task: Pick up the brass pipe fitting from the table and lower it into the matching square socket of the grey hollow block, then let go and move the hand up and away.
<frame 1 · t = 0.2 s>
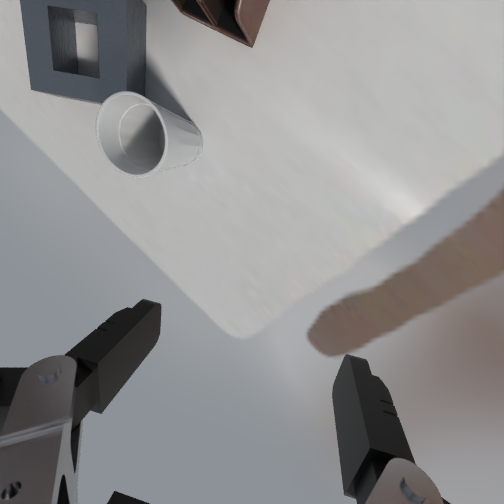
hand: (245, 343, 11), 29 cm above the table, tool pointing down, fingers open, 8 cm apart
grey hollow block: (98, 54, 35), on the table
cup: (183, 142, 37), on the table
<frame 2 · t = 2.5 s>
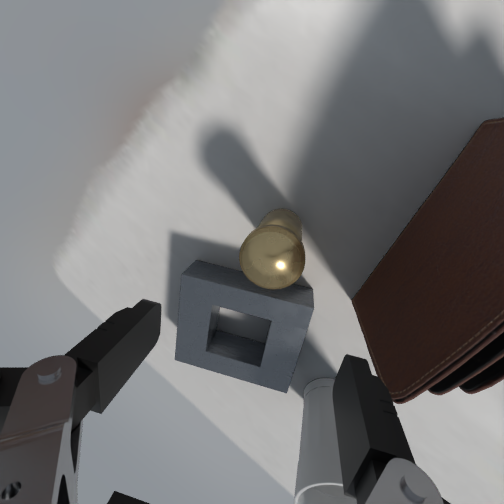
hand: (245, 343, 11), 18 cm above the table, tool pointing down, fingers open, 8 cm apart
grey hollow block: (244, 316, 32), on the table
cup: (327, 395, 34), on the table
letter holder: (451, 245, 25), on the table
fitting: (281, 229, 27), on the table
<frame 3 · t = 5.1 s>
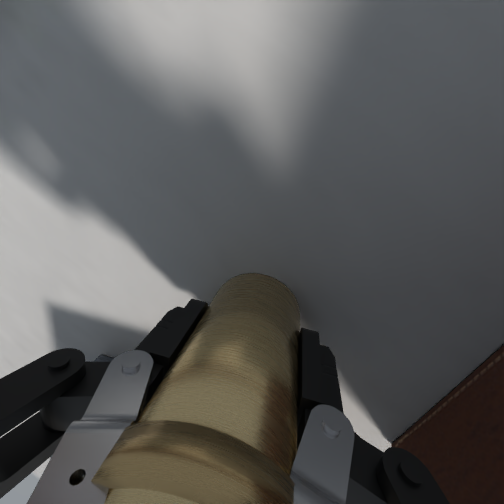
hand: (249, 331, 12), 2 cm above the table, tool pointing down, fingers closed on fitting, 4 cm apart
fitting: (255, 312, 13), on the table, touching gripper
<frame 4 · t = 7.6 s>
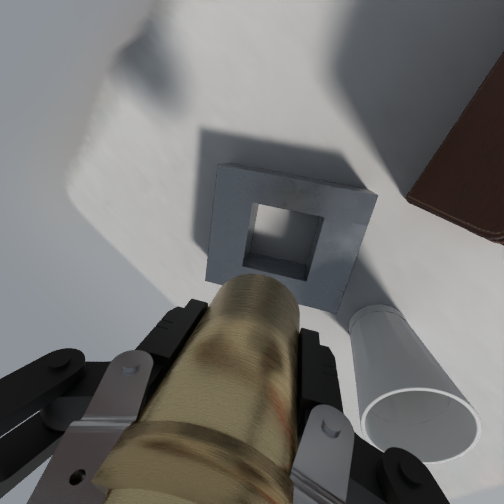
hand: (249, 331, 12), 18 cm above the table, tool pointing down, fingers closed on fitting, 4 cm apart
grey hollow block: (283, 231, 28), on the table
cup: (376, 326, 30), on the table
fitting: (255, 312, 13), point 16 cm above the table, touching gripper
when the fingers open (4 cm above the table, at t = 10.3 s): fitting drops 3 cm, resting in grey hollow block.
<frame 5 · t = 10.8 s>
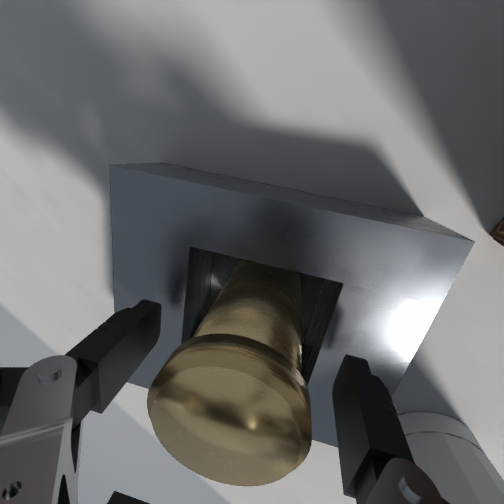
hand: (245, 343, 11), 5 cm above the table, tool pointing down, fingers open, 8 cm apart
grey hollow block: (263, 287, 16), on the table
cup: (421, 443, 18), on the table
fitting: (265, 287, 16), resting in grey hollow block
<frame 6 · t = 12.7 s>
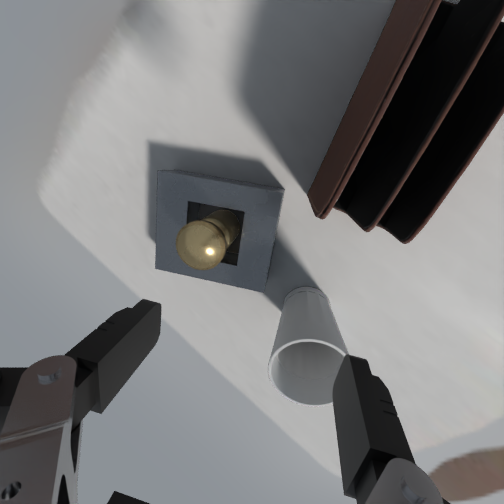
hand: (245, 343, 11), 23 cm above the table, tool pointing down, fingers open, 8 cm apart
grey hollow block: (222, 226, 33), on the table
cup: (306, 306, 35), on the table
letter holder: (390, 125, 27), on the table
fitting: (223, 226, 33), resting in grey hollow block
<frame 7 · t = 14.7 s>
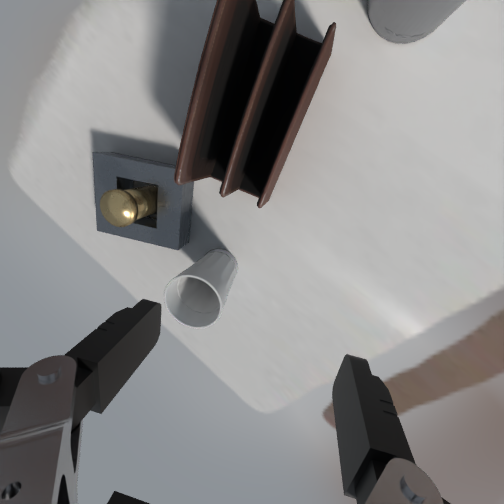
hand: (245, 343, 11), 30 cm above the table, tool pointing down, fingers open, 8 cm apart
grey hollow block: (151, 199, 42), on the table
cup: (220, 265, 44), on the table
letter holder: (264, 120, 35), on the table
fitting: (152, 199, 42), resting in grey hollow block
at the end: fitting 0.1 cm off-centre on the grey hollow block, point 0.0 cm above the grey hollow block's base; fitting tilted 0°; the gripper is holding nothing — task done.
